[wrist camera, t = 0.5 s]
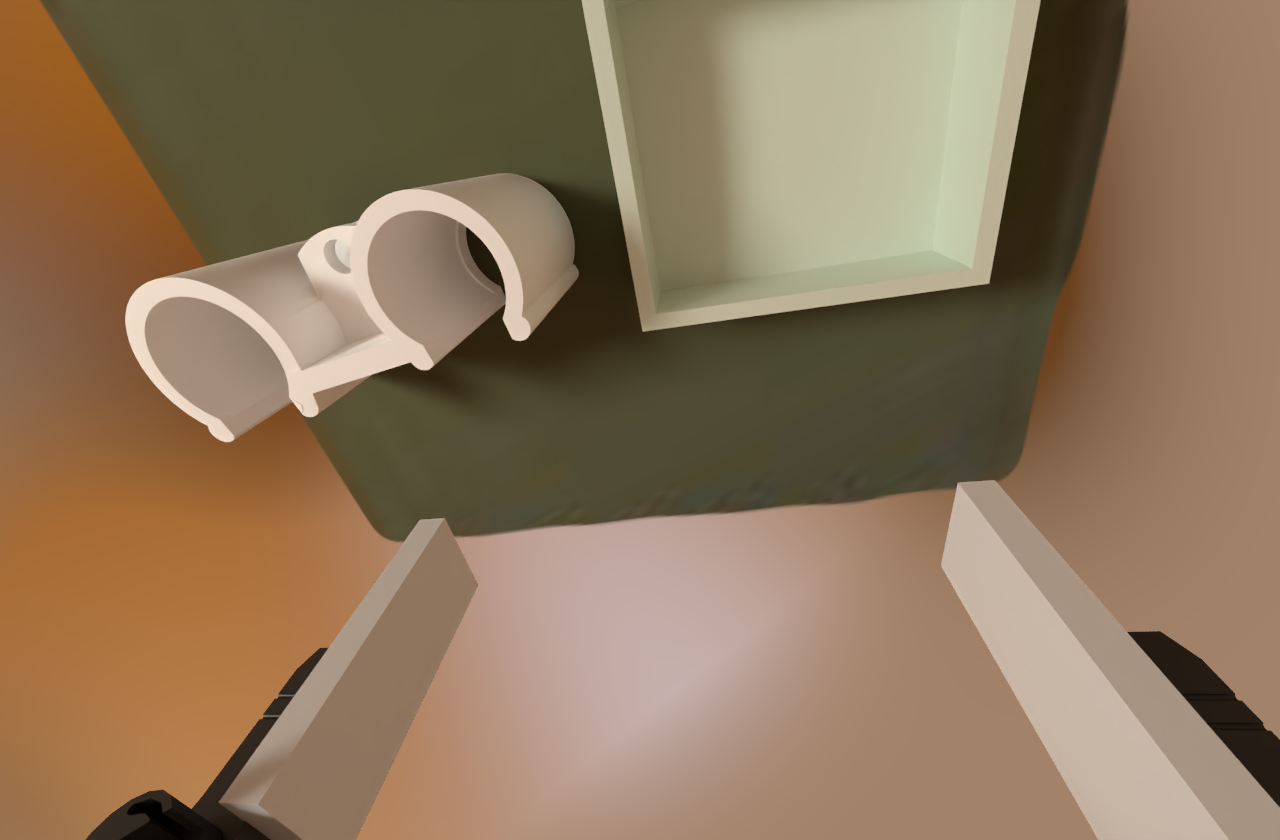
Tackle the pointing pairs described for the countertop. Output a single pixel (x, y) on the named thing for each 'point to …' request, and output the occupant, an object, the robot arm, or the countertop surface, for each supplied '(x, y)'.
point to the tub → (807, 147)
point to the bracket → (351, 301)
